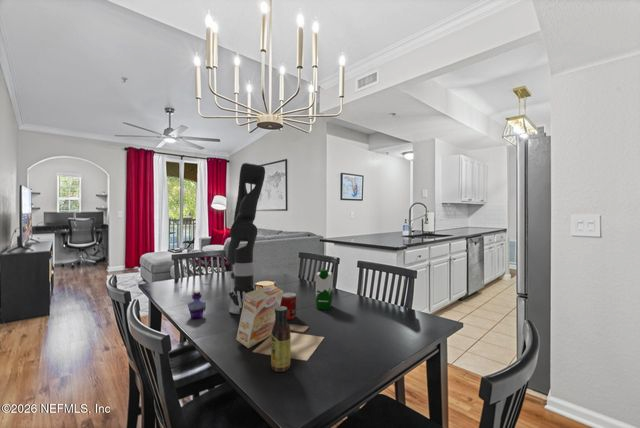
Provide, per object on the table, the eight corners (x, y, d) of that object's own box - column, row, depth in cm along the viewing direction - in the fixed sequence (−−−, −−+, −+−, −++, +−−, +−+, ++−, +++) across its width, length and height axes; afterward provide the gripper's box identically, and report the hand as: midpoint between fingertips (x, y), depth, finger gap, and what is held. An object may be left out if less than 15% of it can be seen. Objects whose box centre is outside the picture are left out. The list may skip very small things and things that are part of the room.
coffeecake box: (248, 348, 114) (258, 301, 110) (235, 339, 117) (244, 292, 114) (274, 334, 126) (284, 290, 123) (262, 326, 130) (271, 283, 126)
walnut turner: (259, 326, 135) (259, 324, 135) (265, 322, 141) (265, 319, 141) (304, 333, 128) (304, 330, 128) (308, 327, 134) (308, 325, 134)
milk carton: (314, 309, 158) (315, 271, 158) (316, 304, 167) (316, 267, 167) (331, 310, 157) (332, 271, 157) (332, 304, 166) (333, 268, 166)
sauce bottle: (271, 363, 103) (272, 304, 103) (290, 362, 103) (290, 304, 103) (270, 374, 96) (270, 311, 96) (290, 373, 97) (290, 310, 97)
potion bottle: (209, 317, 146) (209, 292, 146) (191, 322, 140) (191, 295, 140) (201, 312, 152) (201, 288, 152) (183, 317, 146) (183, 292, 146)
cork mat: (252, 352, 111) (252, 351, 111) (276, 331, 130) (276, 330, 130) (307, 361, 105) (307, 360, 105) (324, 337, 124) (324, 337, 124)
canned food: (293, 320, 142) (293, 297, 142) (277, 319, 144) (277, 296, 144) (298, 315, 150) (298, 292, 150) (282, 314, 152) (282, 291, 151)
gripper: (224, 274, 121) (224, 317, 122) (253, 276, 117) (253, 321, 117) (235, 270, 129) (235, 311, 129) (263, 272, 124) (263, 315, 125)
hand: (243, 316), depth 123 cm, fingers closed
